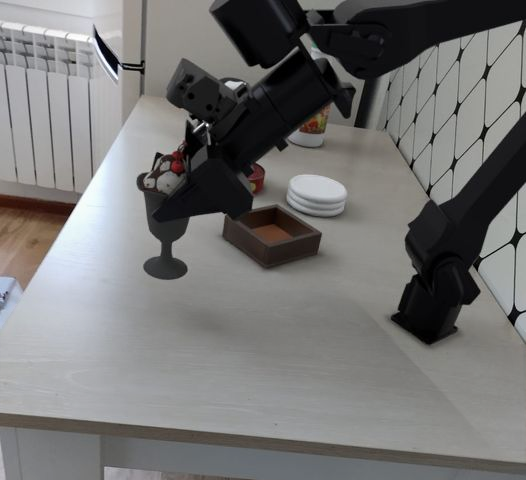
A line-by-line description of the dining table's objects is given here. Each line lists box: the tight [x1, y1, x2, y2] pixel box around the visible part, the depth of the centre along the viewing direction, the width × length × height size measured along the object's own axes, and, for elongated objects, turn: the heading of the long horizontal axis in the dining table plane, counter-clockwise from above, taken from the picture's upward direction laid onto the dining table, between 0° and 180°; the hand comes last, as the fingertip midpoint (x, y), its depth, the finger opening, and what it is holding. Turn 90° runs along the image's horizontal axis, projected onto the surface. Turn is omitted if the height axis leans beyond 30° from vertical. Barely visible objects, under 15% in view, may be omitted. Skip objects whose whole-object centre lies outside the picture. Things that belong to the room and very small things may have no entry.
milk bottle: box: [287, 41, 333, 148], centre depth 120 cm, size 8×8×20 cm
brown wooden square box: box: [221, 203, 323, 270], centre depth 85 cm, size 10×10×4 cm
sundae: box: [135, 139, 191, 281], centre depth 61 cm, size 7×7×15 cm
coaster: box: [286, 174, 348, 218], centre depth 99 cm, size 10×10×4 cm
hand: (155, 204), depth 61 cm, fingers closed on sundae, 6 cm apart
